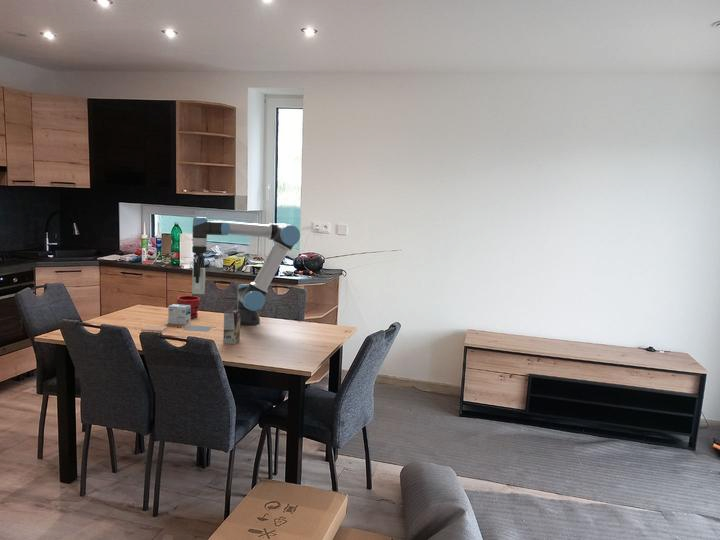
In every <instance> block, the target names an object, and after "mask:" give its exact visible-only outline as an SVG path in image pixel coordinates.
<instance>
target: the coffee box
mask: <svg viewBox="0 0 720 540" xmlns="http://www.w3.org/2000/svg"><path fill="white" fill-rule="evenodd" d="M240 314H241V310H237V309H227V310H226V311H225V312H223V339H222V340H223V344H227V345H236V344H237V343H239V341H240V337H241V335H240V334H241V324H240Z"/></svg>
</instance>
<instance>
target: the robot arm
mask: <svg viewBox="0 0 720 540" xmlns="http://www.w3.org/2000/svg"><path fill="white" fill-rule="evenodd" d="M209 235H210V236H230V235H232V236H242V237H254V238H266V239H268V240H271V241H272V243H273V245H272V247H271V249H270V251H269V253H268V255H267V257H266V259H265V260H264V262H263V264H262V265H261V268H260V269H259V271H258V273H257V275H256V277H255V279H253V281H251V282H249V283H245V284H243V283H242V284H241V283H239V284H238V286H237V309H236V310H241V314H240V325H241V324H246V325H245V326H250V325H249V324H254V325H258V324H260V323H259V322H261V318H260V314H259V312H258V311H259V310H261V309H263V307H264V305H265V303H266V297H267V296H268V293H269V291H268V288H269V286H270V284H271V282H272V281H273V278H274V277H275V275H276V273H277V271H278V269H279V268H280V265H281V264H282V262H283V260H284V258H285V257H286V255H287V253H288V252H291V251H292V250H293V248H294V245H296V244H298V242H299V241H300V239H301V233H300V230H299V228H298V227H297V226H296V225H294V224H291V223H286V222H282V223H269V224H262V223H252V222H251V223H248V222H240V221H239V222H237V221H228V220H226V221H225V220H218V219H213V220H208V217H206V216H205V217H204V216H194V217H193V219H192V238H191V241H192V248H191V249H192V250H191V251H192V253H193V254H195V255H194V258H193V268H194V276H193V277H195V289H200V268H205V259H206V256H204V254H206V253H208V252H207V250H208V247H207V245H208V236H209ZM257 323H258V324H257Z"/></svg>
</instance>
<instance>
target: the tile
mask: <svg viewBox="0 0 720 540" xmlns="http://www.w3.org/2000/svg"><path fill="white" fill-rule="evenodd" d="M167 329H168V325H166V326H165V325H164V326H163V325H145V326H144V327H142V328H140V332H141V331H156V332H155V333H159V332H162V333H164V332H165V331H166V330H167Z"/></svg>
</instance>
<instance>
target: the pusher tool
mask: <svg viewBox="0 0 720 540" xmlns="http://www.w3.org/2000/svg"><path fill="white" fill-rule="evenodd" d="M191 271H192V272H191V273H192V275H191V276H192V278H191V283H192V285H191V294H194V295H205V294H206V267H204V268H200V289H195V277H193V276H194V267H192V270H191Z"/></svg>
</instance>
